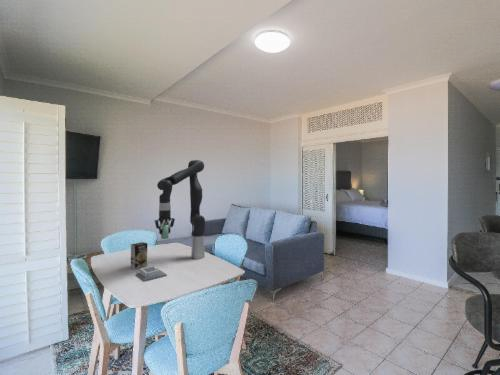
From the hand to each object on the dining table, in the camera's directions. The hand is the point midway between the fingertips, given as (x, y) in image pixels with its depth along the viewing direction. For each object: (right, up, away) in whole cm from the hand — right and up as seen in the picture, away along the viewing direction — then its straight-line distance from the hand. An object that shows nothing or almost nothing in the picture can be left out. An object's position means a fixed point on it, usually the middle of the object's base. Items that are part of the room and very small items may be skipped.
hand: (164, 233), depth 182 cm
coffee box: (-18, -23, +1) cm, 29 cm away
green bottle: (0, -3, 0) cm, 3 cm away
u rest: (-4, -24, -14) cm, 28 cm away
